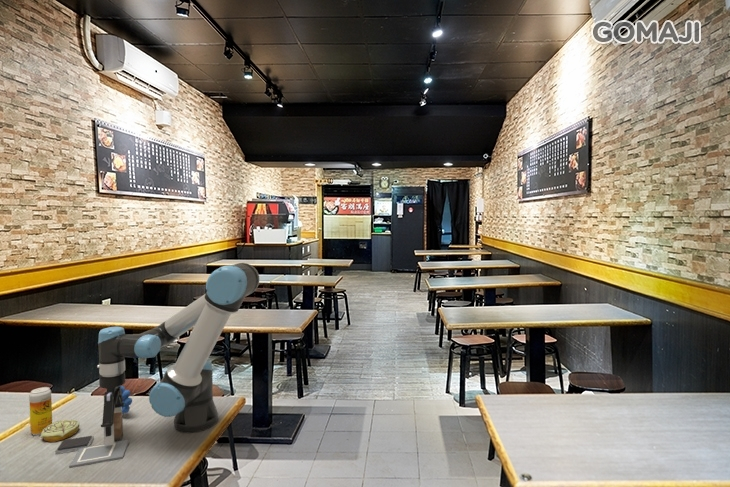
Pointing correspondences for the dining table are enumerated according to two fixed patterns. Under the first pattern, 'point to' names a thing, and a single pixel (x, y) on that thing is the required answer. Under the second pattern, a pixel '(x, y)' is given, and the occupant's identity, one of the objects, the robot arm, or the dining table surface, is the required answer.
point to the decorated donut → (60, 430)
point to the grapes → (125, 400)
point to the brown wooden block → (118, 426)
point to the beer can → (40, 409)
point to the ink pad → (74, 444)
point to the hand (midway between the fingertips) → (113, 434)
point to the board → (99, 453)
